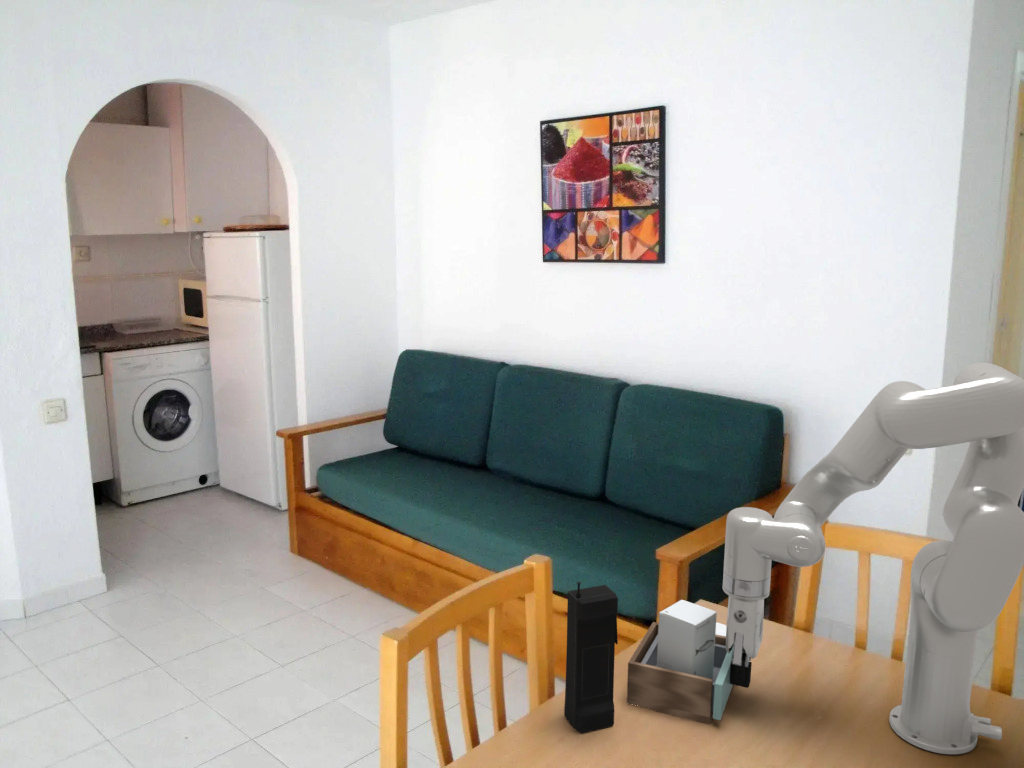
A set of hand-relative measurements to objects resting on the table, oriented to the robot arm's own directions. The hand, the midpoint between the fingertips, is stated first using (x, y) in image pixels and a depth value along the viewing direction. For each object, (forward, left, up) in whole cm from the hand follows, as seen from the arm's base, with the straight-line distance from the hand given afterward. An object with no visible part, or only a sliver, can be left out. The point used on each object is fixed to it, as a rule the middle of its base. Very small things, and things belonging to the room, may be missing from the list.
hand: (739, 683), depth 138 cm
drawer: (+9, 0, -2) cm, 9 cm away
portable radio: (+21, +15, -4) cm, 26 cm away
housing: (+10, 0, -4) cm, 11 cm away
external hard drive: (+8, -20, -5) cm, 22 cm away
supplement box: (+9, 0, -2) cm, 9 cm away
